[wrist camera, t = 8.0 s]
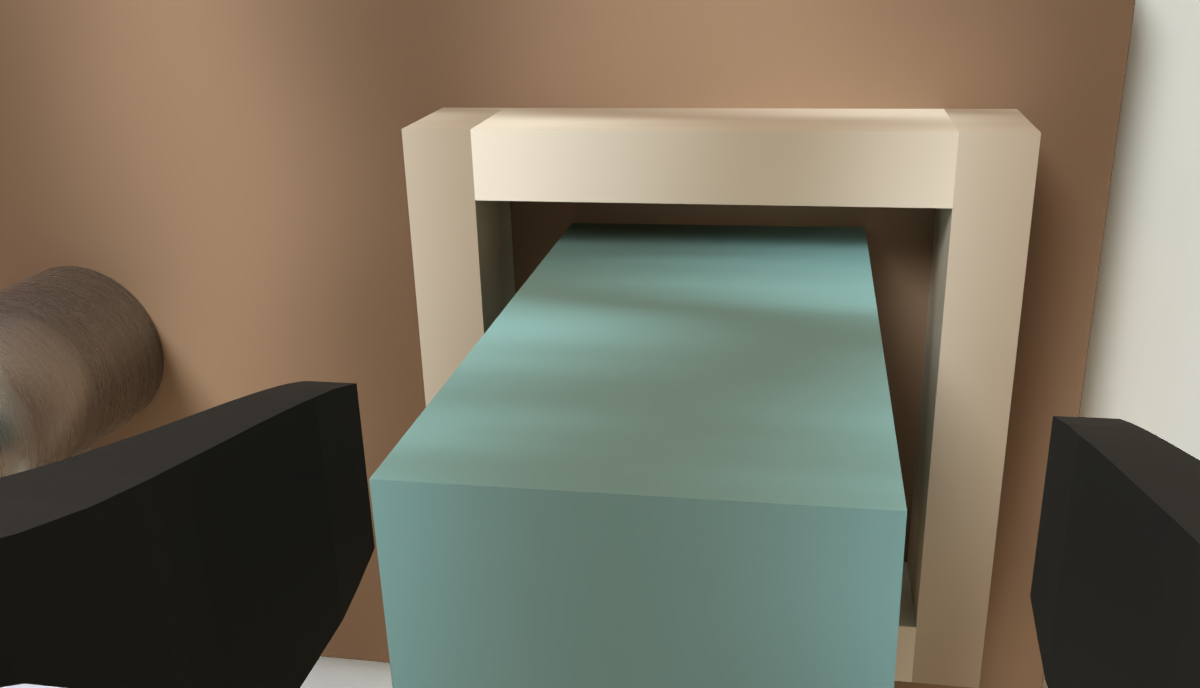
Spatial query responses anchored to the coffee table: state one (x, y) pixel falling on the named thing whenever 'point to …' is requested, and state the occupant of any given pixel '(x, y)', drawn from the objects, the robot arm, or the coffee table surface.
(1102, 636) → the robot arm
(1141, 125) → the coffee table surface
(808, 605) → the peg
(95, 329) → the brushed metal cylinder
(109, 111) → the brown board
